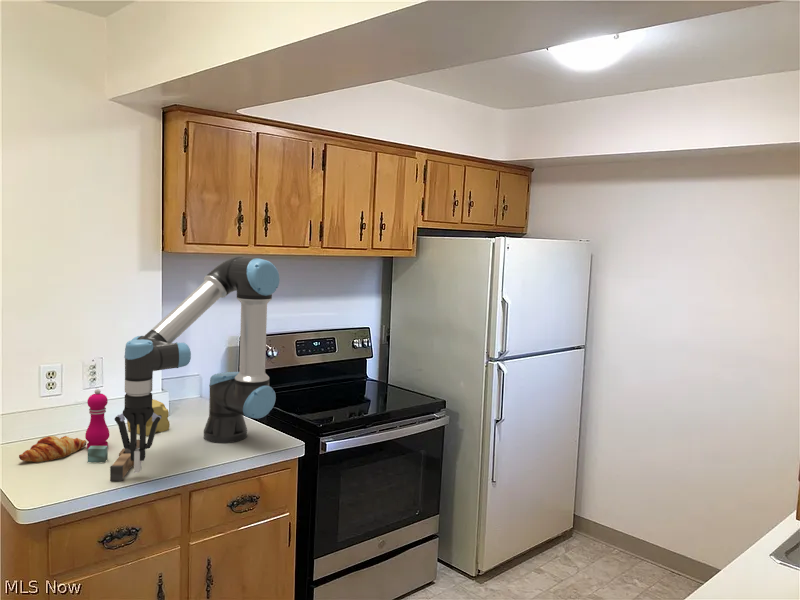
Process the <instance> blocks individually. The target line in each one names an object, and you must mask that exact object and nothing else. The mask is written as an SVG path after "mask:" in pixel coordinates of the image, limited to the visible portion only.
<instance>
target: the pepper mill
mask: <svg viewBox="0 0 800 600" xmlns="http://www.w3.org/2000/svg"><path fill="white" fill-rule="evenodd" d="M86 403H87V407H89V409H88V411H89V412H88V413H89V414H90V420H89V421H90V422H89V424H88V427H87V429H86V431H85V436H84V437H85V440H86V442H87V443H86V450H87V451H88V448H89V447H90V446H108V447H109V442H108V441H107V440H108V439H109V438H110V429H109V427H108V426H107V425H108V424H107V422H106V419H105V413H106V412H107V408H106V406H107V405H108V397H107V395H105V394H104V393H101V389H99V388H96V389H95V390H94V393H93V394H91V395H90V396H89V397H88V398H87V402H86Z"/></svg>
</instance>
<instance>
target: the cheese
mask: <svg viewBox="0 0 800 600" xmlns="http://www.w3.org/2000/svg"><path fill="white" fill-rule="evenodd" d="M152 408H153V410H154V413H155V414H157V415H161V416H162V418H161V419H160V421H159V422H158V425H157V428H156V432H155V434H156V433H163V432H167V431H169V430H170V427H171V426H170V425H171V424H170V420H169V417H170V413H169V410H168V408H167V406H166V405H165V404H164V403H163V402H161V401H159V400H158V399H154V398H152ZM152 423H153V421H152V416H151V418H150V419H149V420H148V421H147V423H146V437H149V434H150V430H151V426H152ZM126 424H127V425H126V427H127V432H130V423H129V422H128V420H127V419H126ZM137 435H140V428H139V424H137Z"/></svg>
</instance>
